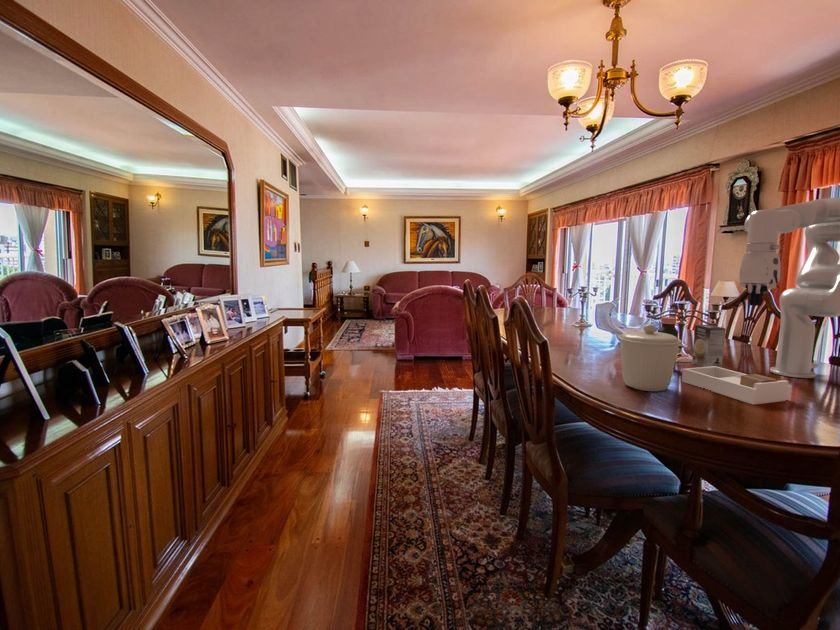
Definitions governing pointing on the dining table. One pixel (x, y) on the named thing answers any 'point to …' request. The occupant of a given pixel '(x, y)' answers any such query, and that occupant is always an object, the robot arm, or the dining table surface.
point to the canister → (648, 358)
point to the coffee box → (708, 345)
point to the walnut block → (754, 379)
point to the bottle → (669, 327)
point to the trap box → (736, 385)
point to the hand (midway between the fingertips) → (755, 305)
